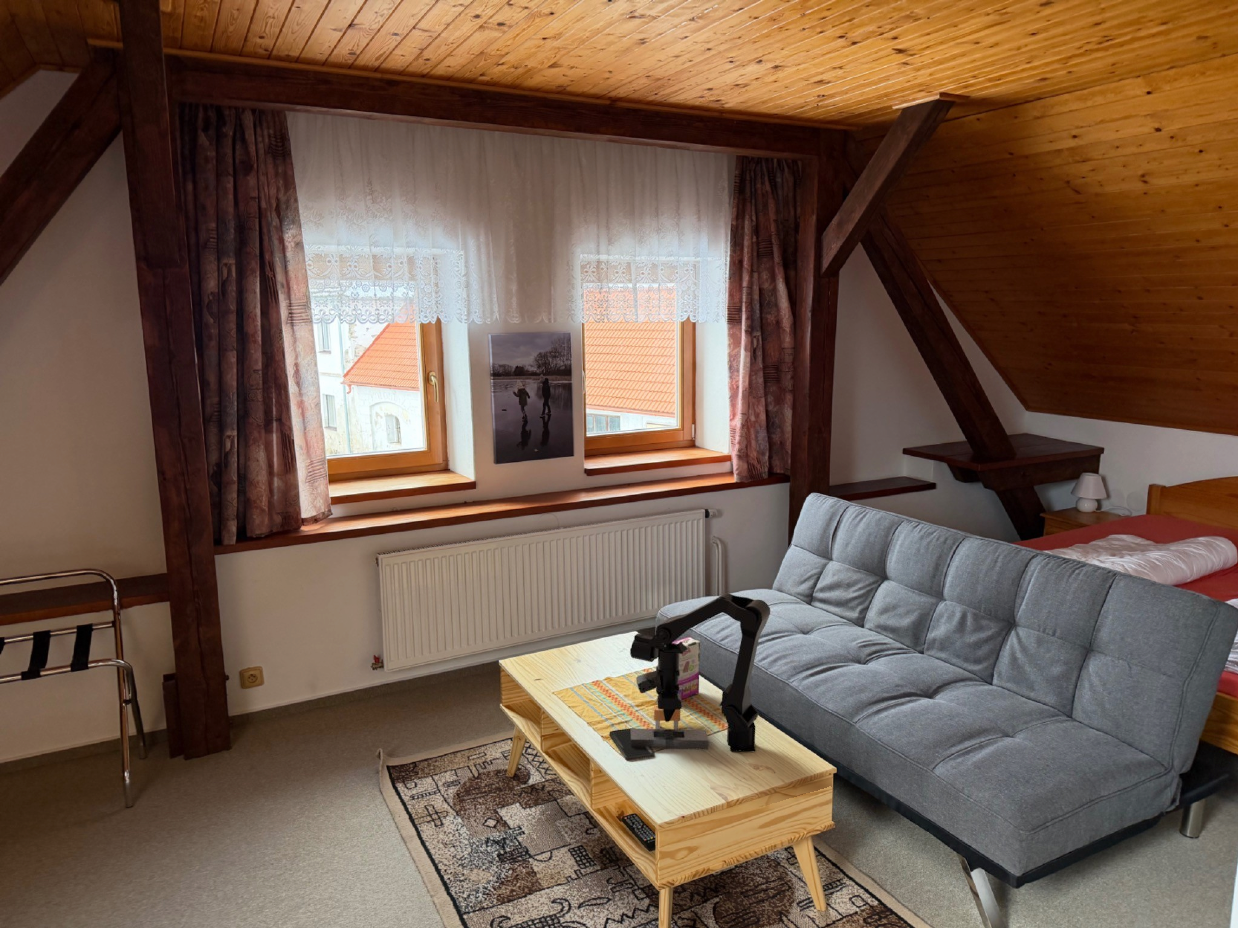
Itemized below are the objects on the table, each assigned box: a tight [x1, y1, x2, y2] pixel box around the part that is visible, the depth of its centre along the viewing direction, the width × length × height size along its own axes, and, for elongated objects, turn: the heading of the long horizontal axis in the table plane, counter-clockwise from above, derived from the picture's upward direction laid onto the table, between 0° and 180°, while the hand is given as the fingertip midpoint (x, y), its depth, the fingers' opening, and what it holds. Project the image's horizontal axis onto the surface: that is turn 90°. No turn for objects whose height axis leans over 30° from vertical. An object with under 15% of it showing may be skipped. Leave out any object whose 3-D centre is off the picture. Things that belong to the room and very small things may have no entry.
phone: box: [609, 727, 655, 761], centre depth 233 cm, size 8×1×15 cm
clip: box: [653, 705, 681, 729], centre depth 243 cm, size 7×2×6 cm, turn 90°
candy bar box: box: [672, 636, 701, 701], centre depth 262 cm, size 11×5×16 cm, turn 129°
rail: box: [630, 728, 709, 750], centre depth 234 cm, size 20×6×2 cm, turn 90°
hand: (666, 719), depth 243 cm, fingers closed on clip, 2 cm apart
